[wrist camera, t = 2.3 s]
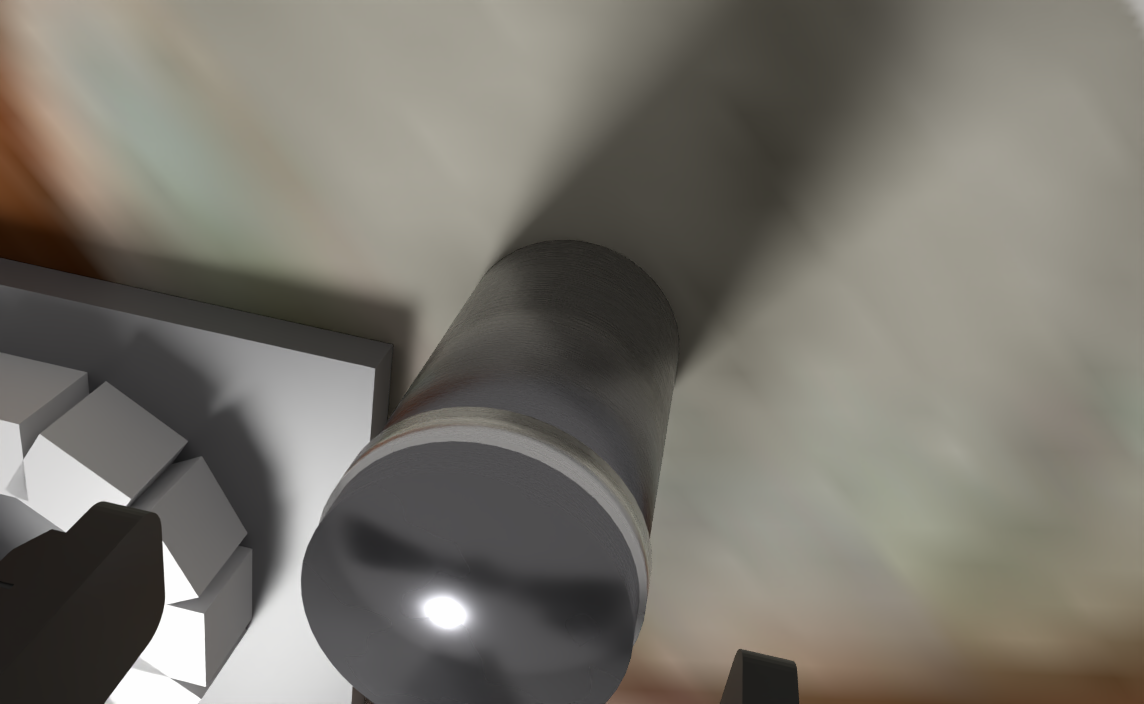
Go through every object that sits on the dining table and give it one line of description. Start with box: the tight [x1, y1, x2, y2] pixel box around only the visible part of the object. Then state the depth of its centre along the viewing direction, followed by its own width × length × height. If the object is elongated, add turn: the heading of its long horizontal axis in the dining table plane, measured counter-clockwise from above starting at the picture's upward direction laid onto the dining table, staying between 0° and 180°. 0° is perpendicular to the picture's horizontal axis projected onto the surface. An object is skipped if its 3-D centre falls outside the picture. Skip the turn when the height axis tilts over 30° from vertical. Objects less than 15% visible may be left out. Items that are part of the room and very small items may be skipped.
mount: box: [0, 258, 393, 704], centre depth 25 cm, size 16×14×4 cm
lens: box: [301, 240, 679, 704], centre depth 18 cm, size 5×5×9 cm
